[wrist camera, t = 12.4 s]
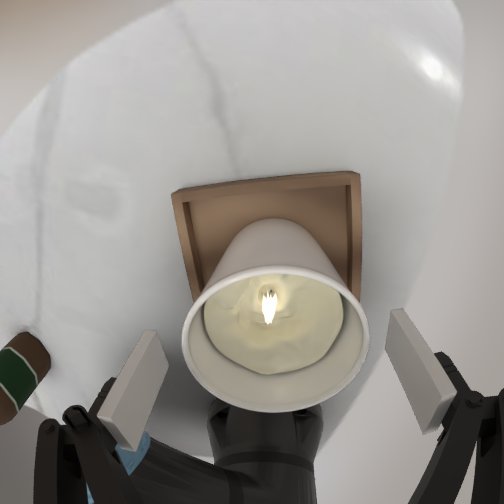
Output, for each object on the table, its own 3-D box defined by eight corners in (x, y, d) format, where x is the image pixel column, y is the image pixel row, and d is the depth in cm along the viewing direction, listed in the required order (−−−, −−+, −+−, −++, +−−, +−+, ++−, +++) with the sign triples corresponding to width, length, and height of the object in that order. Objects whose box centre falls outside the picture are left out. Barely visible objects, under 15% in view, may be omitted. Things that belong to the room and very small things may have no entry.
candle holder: (236, 191, 23) (205, 238, 12) (347, 230, 24) (404, 303, 13) (205, 293, 27) (168, 387, 15) (303, 323, 27) (318, 423, 16)
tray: (351, 318, 28) (357, 333, 25) (209, 331, 29) (205, 346, 27) (351, 170, 23) (360, 173, 20) (180, 189, 24) (170, 194, 22)
